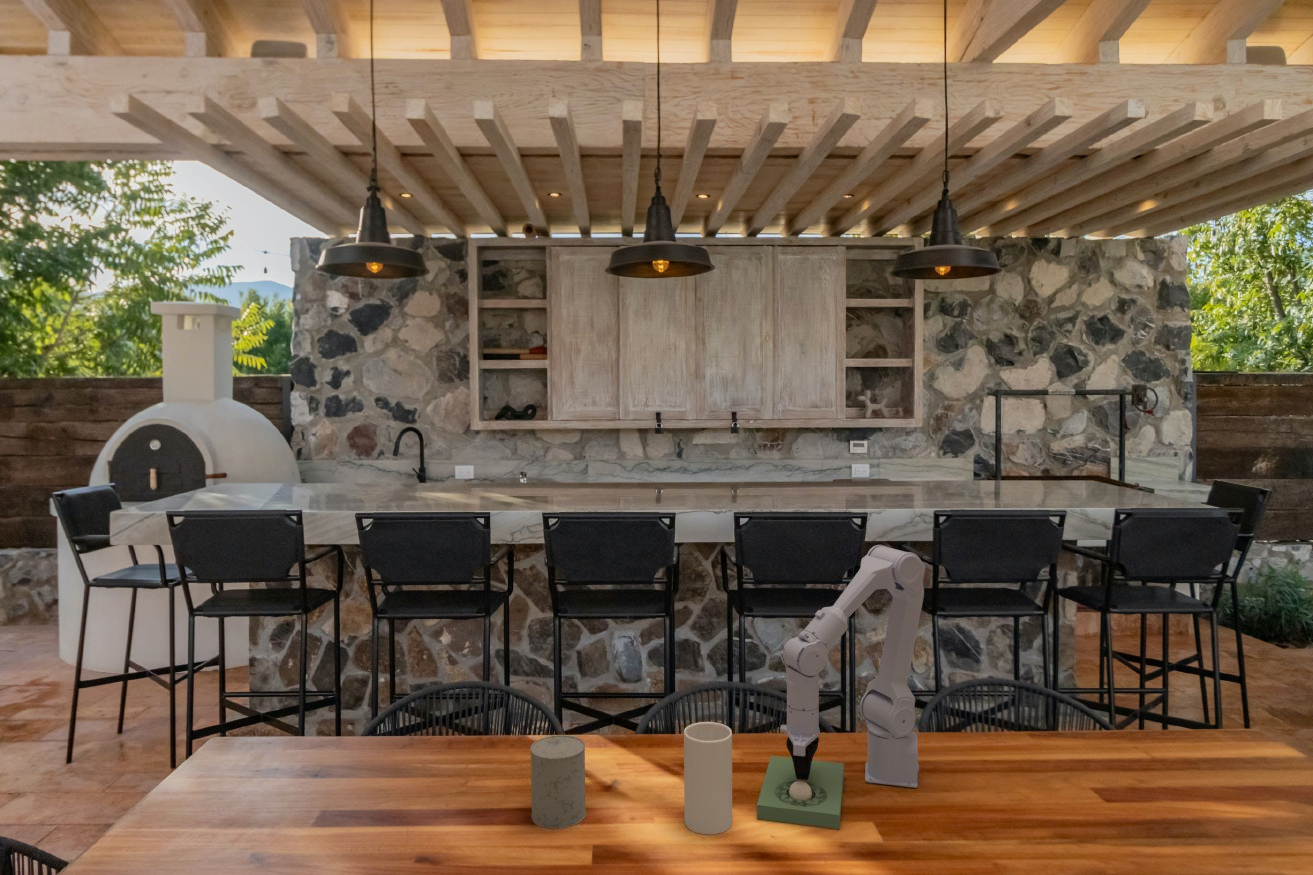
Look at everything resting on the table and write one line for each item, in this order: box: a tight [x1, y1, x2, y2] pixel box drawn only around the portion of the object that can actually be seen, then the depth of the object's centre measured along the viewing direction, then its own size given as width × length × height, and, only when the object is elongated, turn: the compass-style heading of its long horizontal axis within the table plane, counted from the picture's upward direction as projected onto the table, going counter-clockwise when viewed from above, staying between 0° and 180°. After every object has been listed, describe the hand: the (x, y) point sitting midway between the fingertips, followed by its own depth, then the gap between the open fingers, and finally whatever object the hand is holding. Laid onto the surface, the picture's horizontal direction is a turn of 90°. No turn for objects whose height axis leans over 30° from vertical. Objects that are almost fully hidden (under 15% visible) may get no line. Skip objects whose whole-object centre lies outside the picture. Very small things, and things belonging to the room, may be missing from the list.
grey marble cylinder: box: [530, 734, 587, 830], centre depth 144 cm, size 10×10×12 cm
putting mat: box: [756, 755, 845, 830], centre depth 150 cm, size 20×14×2 cm
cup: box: [683, 721, 733, 835], centre depth 141 cm, size 8×8×16 cm
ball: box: [789, 781, 812, 801], centre depth 146 cm, size 4×4×4 cm
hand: (802, 777), depth 150 cm, fingers closed
